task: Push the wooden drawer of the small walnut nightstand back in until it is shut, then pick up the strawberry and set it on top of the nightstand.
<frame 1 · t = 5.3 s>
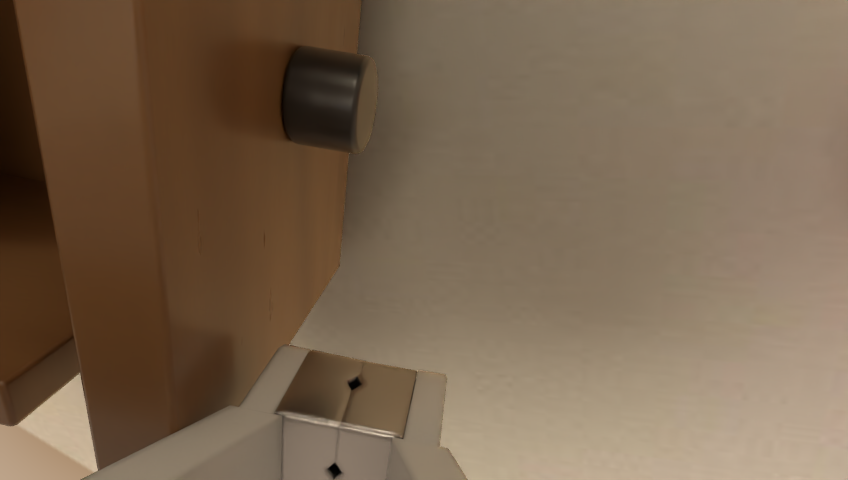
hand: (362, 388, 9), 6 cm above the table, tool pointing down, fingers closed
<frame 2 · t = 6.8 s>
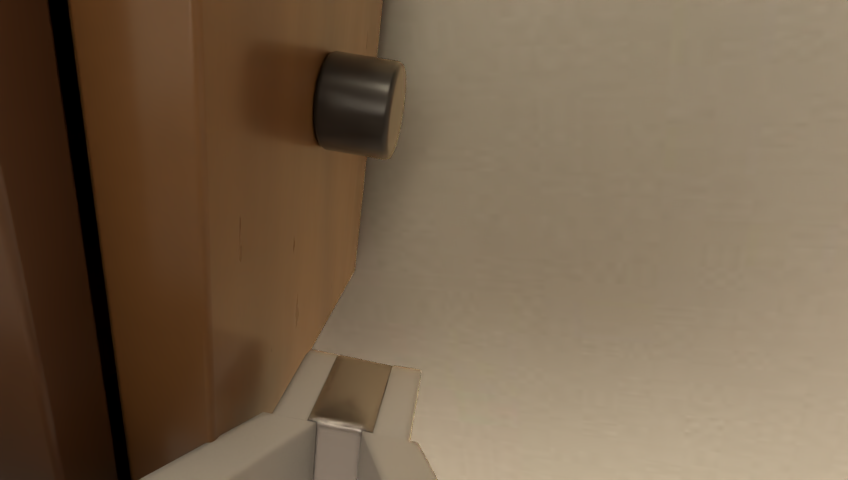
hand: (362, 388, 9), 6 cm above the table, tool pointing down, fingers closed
nightstand: (88, 30, 13), on the table
wooden drawer: (8, 46, 8), point 5 cm above the table, slide at 0.0 cm, touching gripper, nightstand
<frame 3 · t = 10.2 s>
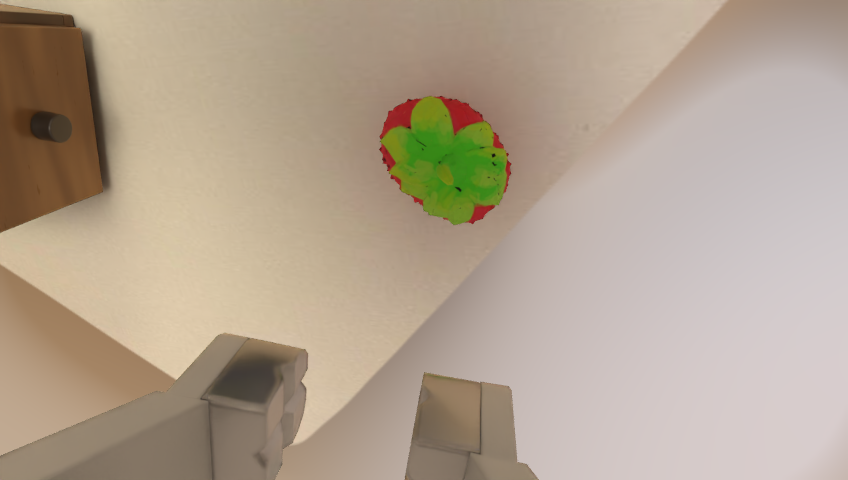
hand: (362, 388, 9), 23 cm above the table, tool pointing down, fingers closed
strawberry: (451, 139, 30), on the table
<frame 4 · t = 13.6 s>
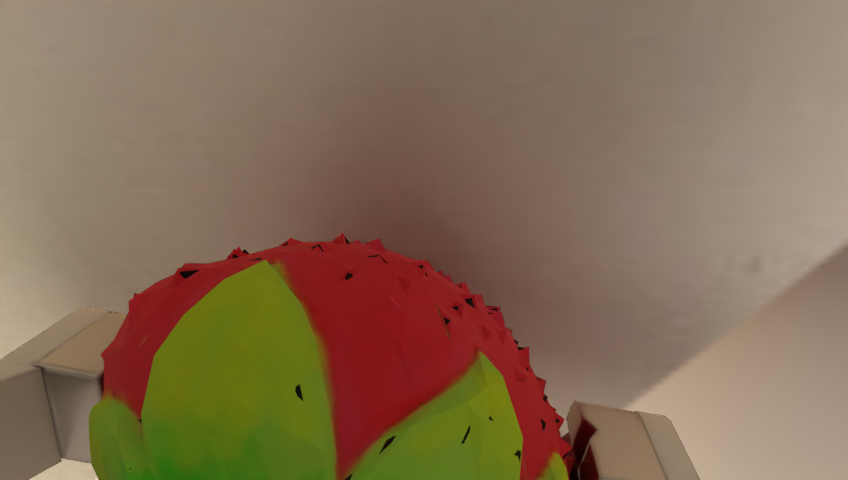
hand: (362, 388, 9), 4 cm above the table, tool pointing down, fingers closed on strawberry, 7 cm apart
strawberry: (402, 280, 12), on the table, touching gripper
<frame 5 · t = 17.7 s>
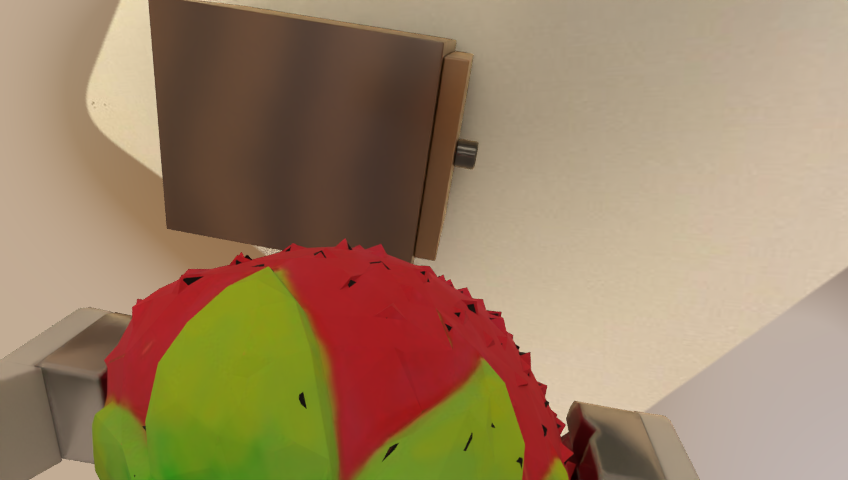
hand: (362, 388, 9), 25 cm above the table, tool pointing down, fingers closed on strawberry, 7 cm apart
strawberry: (403, 283, 12), point 22 cm above the table, touching gripper
nightstand: (342, 116, 32), on the table
wooden drawer: (359, 135, 28), point 5 cm above the table, slide at 0.0 cm
when the fingers open (13 cm above the table, at t = 21.8 s): strawberry stays where it is, resting on nightstand.
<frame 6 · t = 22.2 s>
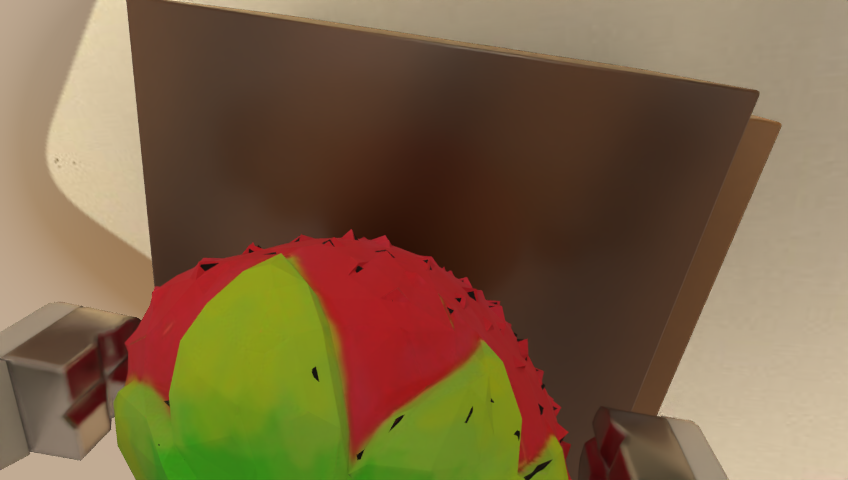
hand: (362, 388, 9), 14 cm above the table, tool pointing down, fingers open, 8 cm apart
strawberry: (405, 277, 13), point 9 cm above the table, touching nightstand
nightstand: (434, 181, 21), on the table
wooden drawer: (488, 230, 17), point 5 cm above the table, slide at 0.0 cm
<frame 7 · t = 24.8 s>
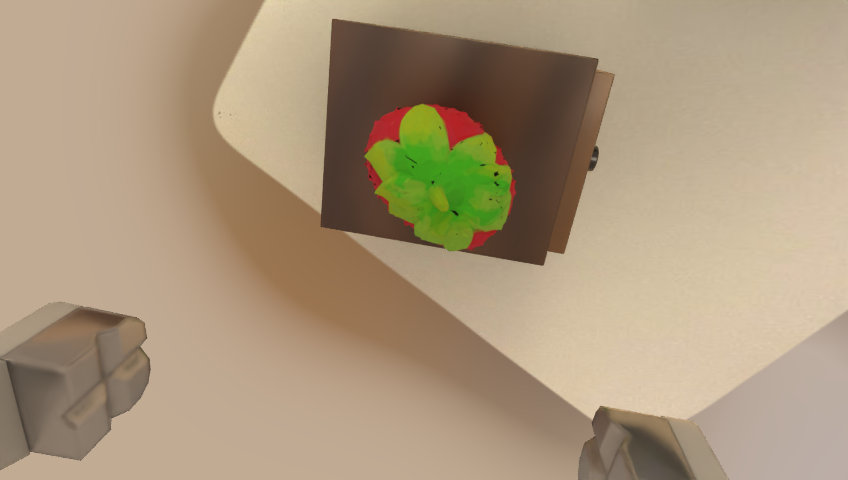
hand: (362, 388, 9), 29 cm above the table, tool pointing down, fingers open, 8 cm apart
strawberry: (447, 150, 27), point 9 cm above the table, touching nightstand
nightstand: (455, 123, 35), on the table
wooden drawer: (487, 141, 31), point 5 cm above the table, slide at 0.0 cm
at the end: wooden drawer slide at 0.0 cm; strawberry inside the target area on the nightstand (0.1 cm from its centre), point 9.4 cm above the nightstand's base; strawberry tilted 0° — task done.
